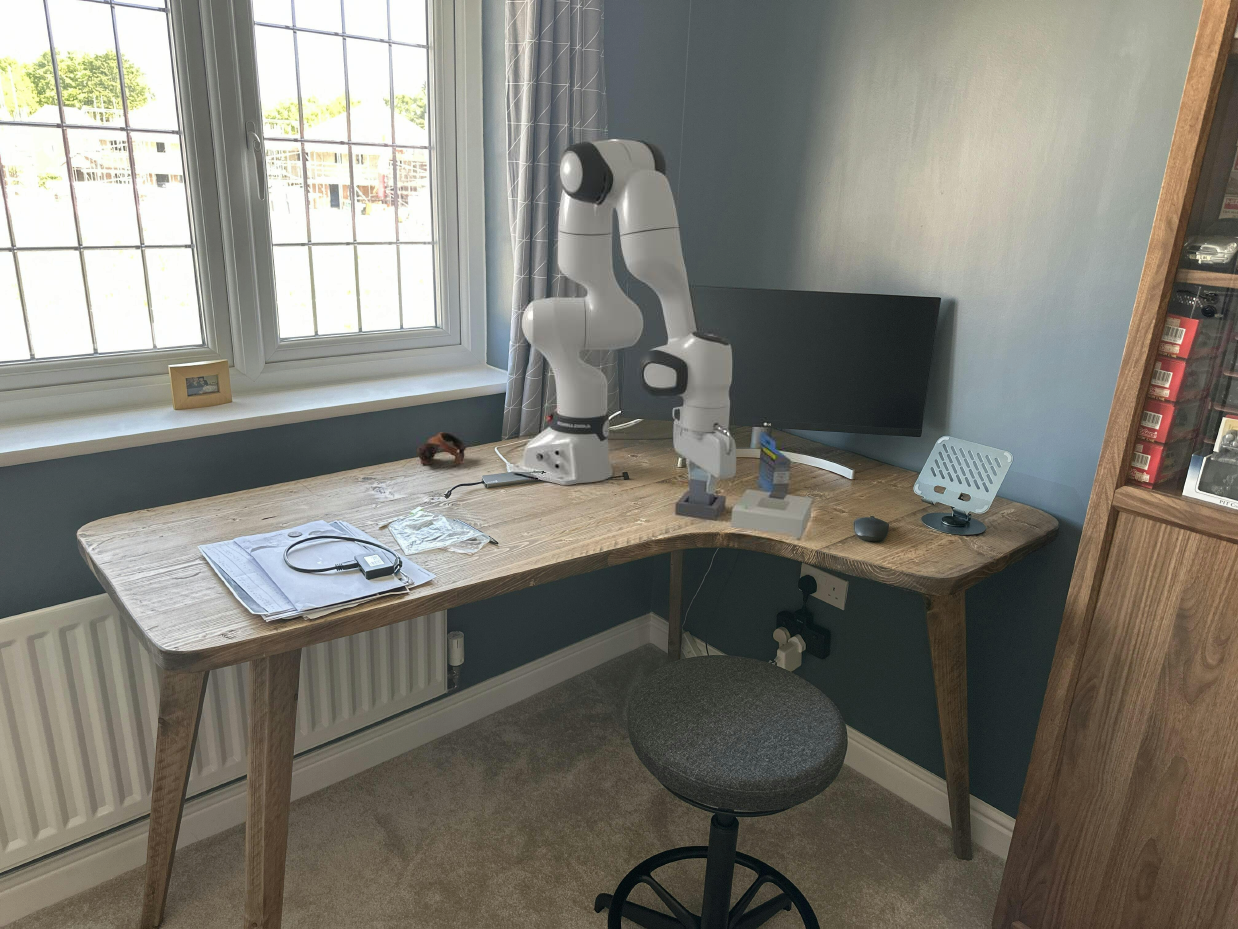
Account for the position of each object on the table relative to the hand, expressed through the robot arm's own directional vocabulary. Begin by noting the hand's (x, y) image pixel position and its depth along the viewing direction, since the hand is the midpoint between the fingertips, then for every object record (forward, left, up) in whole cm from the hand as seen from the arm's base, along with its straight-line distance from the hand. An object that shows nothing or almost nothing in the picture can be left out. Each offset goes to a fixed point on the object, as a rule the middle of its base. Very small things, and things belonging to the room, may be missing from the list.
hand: (701, 486), depth 162 cm
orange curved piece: (-64, +7, -6) cm, 64 cm away
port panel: (+14, 0, -6) cm, 15 cm away
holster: (0, 0, -6) cm, 6 cm away
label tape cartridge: (+11, +20, -6) cm, 23 cm away
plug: (0, 0, -5) cm, 5 cm away
